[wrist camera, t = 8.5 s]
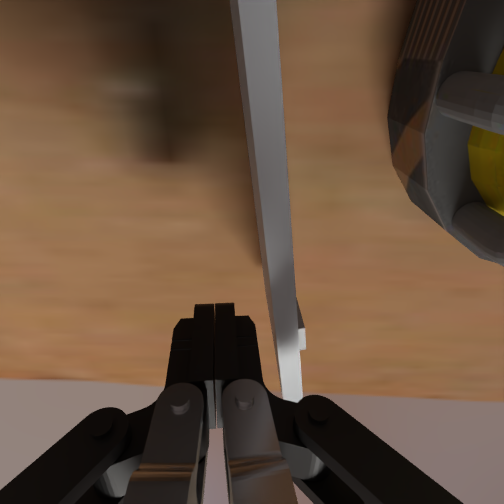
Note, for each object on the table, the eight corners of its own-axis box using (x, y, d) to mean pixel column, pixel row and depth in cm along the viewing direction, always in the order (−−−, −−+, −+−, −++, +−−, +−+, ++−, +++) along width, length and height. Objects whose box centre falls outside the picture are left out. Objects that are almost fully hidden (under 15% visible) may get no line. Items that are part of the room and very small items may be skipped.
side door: (264, 290, 19) (282, 408, 13) (219, -66, 11) (213, -189, 5) (289, 287, 19) (319, 402, 13) (261, -72, 11) (302, -203, 5)
